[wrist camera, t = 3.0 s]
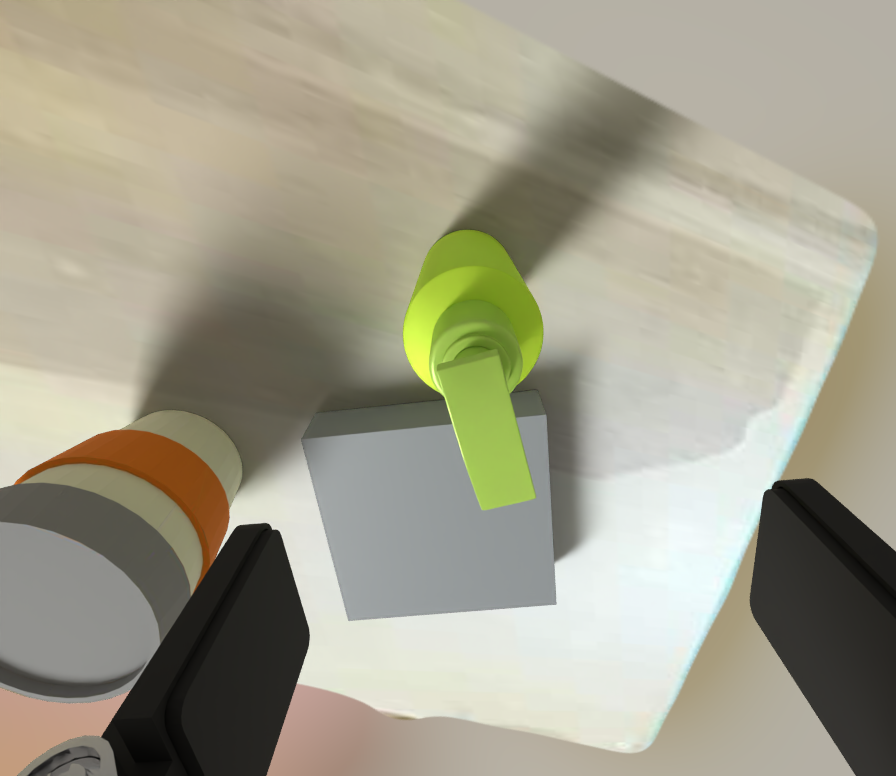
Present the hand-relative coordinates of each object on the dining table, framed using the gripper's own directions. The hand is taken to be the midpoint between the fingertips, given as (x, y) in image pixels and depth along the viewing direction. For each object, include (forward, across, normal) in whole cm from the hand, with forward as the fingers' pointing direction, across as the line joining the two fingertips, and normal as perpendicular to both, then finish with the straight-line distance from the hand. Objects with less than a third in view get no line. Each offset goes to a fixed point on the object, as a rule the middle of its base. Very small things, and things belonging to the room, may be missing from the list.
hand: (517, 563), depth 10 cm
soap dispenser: (+26, +1, 0) cm, 26 cm away
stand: (+26, +5, +16) cm, 31 cm away
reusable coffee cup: (+26, +24, +11) cm, 37 cm away
